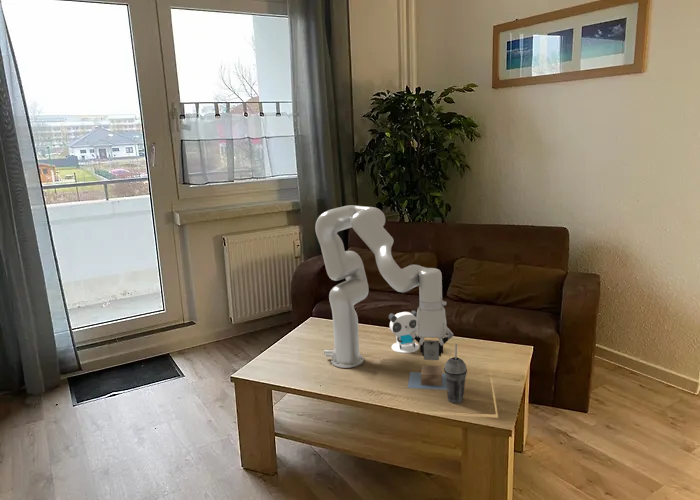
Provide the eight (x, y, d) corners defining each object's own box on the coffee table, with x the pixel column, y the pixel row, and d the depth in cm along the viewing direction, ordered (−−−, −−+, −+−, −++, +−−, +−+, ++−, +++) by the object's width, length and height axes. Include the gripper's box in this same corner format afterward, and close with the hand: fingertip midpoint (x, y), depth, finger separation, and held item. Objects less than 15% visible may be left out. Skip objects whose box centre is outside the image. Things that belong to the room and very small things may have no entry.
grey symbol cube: (439, 354, 184) (439, 340, 183) (438, 360, 179) (438, 346, 178) (424, 353, 185) (424, 340, 184) (423, 359, 180) (423, 346, 179)
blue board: (407, 390, 181) (407, 387, 181) (410, 374, 193) (410, 372, 193) (455, 392, 178) (455, 390, 178) (454, 376, 190) (454, 373, 190)
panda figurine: (395, 355, 210) (394, 319, 206) (386, 344, 221) (385, 310, 217) (423, 350, 212) (422, 315, 209) (413, 340, 223) (412, 306, 220)
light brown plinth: (421, 384, 183) (420, 374, 182) (422, 375, 189) (422, 365, 188) (441, 385, 181) (441, 375, 180) (442, 376, 188) (441, 366, 187)
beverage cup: (442, 406, 170) (441, 348, 165) (446, 395, 177) (446, 339, 172) (465, 409, 167) (465, 351, 163) (468, 398, 174) (468, 342, 169)
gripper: (456, 301, 181) (456, 350, 185) (406, 300, 184) (407, 349, 188) (456, 308, 174) (457, 360, 178) (404, 308, 177) (406, 358, 181)
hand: (431, 354), depth 183 cm, fingers closed on grey symbol cube, 5 cm apart
